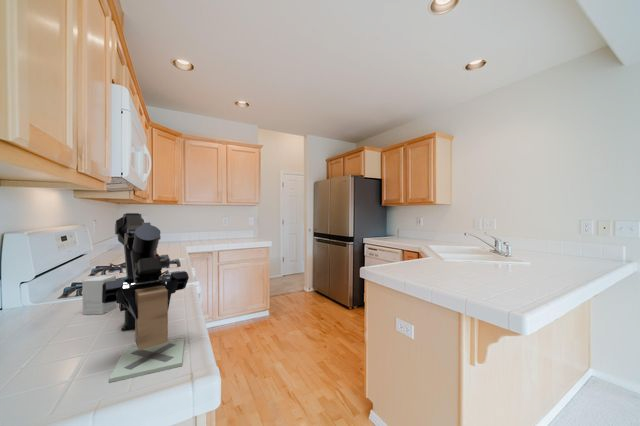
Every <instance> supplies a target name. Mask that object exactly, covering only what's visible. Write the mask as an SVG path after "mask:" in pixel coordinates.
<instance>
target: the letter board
mask: <svg viewBox="0 0 640 426" xmlns="http://www.w3.org/2000/svg"><path fill="white" fill-rule="evenodd" d="M184 350H185V337H183V338H177V339H172V340H168V342H166V343H163V344H159V345H156V346H153V347H149V348H146V349H143V350H139V349H138V347H137V346H134V347H129V348H125V349H124V350H123V352H122V353H121V354H120V357H119V360H118V361H117V363H116V365H115V367H114V368H113V371H112V372H111V374H110V376H109V378H108V383H114V382H118V381H122V380H126V379H130V378H131V379H132V378H135V377H140V376H144V375H145V376H146V375H148V374H153V373H154V374H155V373H156V372H158V373H159V372H161V371H165V370H171V369H175V368H180V367H182V366H183V361H184V360H183V359H184V358H183V357H184V352H185V351H184Z"/></svg>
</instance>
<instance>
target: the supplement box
mask: <svg viewBox="0 0 640 426" xmlns="http://www.w3.org/2000/svg"><path fill="white" fill-rule="evenodd" d="M115 280H117V276H116V275H108V276H107V275H106V276H105V275H100V276H95V277H91V278H87V279H84V280H82V281H81V283H82V288H81V289H82V315H83V316H84V315H104V314H106V313H107V311H108V312H110V311H112V310H114V309H116V308H117V306H118V305H117V303H116V302H110V303H102V285H103V284H104V283H105V282H108V281H115ZM111 309H112V310H111ZM109 310H110V311H109ZM105 312H106V313H105Z"/></svg>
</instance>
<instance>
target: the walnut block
mask: <svg viewBox="0 0 640 426" xmlns="http://www.w3.org/2000/svg"><path fill="white" fill-rule="evenodd" d="M135 303H136V307H137V311H138V319H135V329H134V332H135V333H134V336H135V337H134V341H135V344H136V347H138V349H139V350H143V349H146V348H149V347H153V346H156V345H159V344H163V343H166V342H168V341H169V334H168V333H169V330H168V328H169V327H168V326H169V317H168V315H169V314H168V313H169V312H168V311H169V308H168V290H167V289H166V288H165V287H163V286H156V287H150V288H144V289H138V290H135Z"/></svg>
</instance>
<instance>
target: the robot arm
mask: <svg viewBox="0 0 640 426" xmlns="http://www.w3.org/2000/svg"><path fill="white" fill-rule="evenodd" d="M151 224H152V223H151V222H145V220H144V219H143V218H142V213H138V212H136V213H135V212H132V213H131V212H126V213H124V214H122V217H120V218H118V219H116V220H115V224H114V234H115V235H117V241H118V242H119V243H120V244H122V245H123V249H124V250H123V251H124V261H125V264H124V265H125V274H126V279H125V280H124V279H116V280H115V281H108V282H105V283H104V284H103V285H102V303H110V302H116V304H118V308H119V311H120V312H124V324H123V326H122V327H121V328H120V330H121V331H123V332H124V331H127V330H133V329H134V330H135V319H138V311H137V307H136V303H135V290H138V289H144V288H150V287H156V286H163V287H165V288H166V289H167V290H168V309H169V307H170V302H171V296H172V295H173V294H175V293H176V292H177V291H181V290H185V289H186V287H187V284H188V281H189V279H190V278H189V273H188V272H187V271H185V270H183V271H182V270H181V271H174V272H170V276H169V277H168V278H163V279H161V277H162V270H163V269H166V268H169V266H171V265H170V257H169V254H160V255H159V256H160V257H156V256H155V251H156V250H157V249H158V245H159V241H160V240H161V230H160V229H159V228H158V227H157V226H155V225H151ZM157 251H158V250H157Z"/></svg>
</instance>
